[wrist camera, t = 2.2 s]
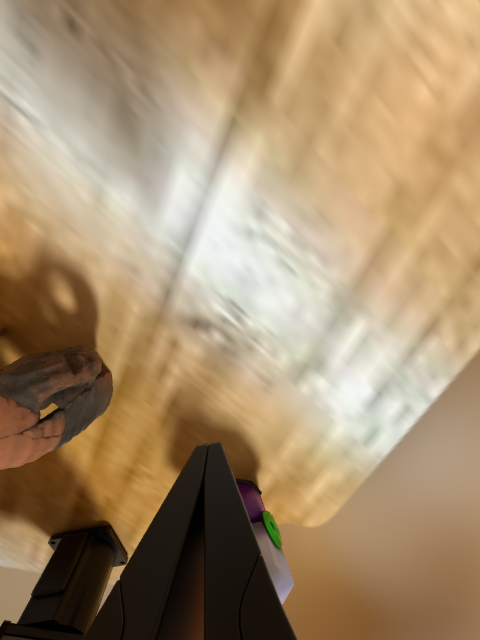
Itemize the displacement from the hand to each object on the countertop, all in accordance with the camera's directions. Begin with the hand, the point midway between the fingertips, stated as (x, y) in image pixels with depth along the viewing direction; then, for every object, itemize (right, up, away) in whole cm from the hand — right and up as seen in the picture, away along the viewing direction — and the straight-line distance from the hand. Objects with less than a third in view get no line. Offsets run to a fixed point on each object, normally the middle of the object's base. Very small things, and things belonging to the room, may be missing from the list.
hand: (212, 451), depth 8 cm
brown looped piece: (-13, +1, +10) cm, 17 cm away
